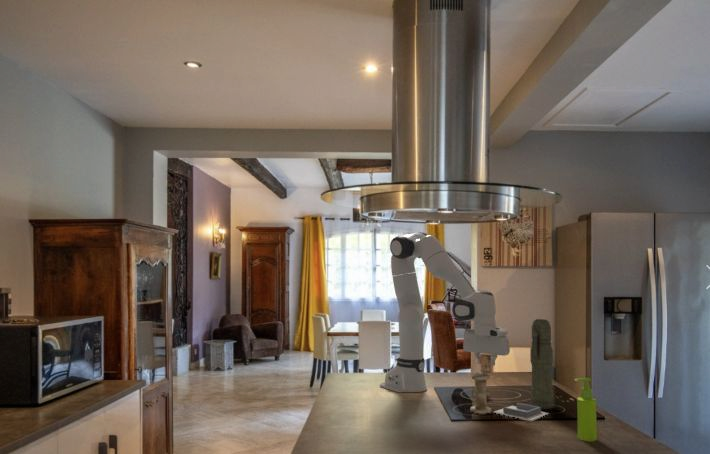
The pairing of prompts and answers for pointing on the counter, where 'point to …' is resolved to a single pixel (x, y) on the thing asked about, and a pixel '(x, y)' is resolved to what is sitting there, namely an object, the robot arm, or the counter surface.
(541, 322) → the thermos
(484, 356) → the copper plug
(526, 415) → the terminal board
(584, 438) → the soap dispenser
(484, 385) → the wooden spool
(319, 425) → the counter surface
